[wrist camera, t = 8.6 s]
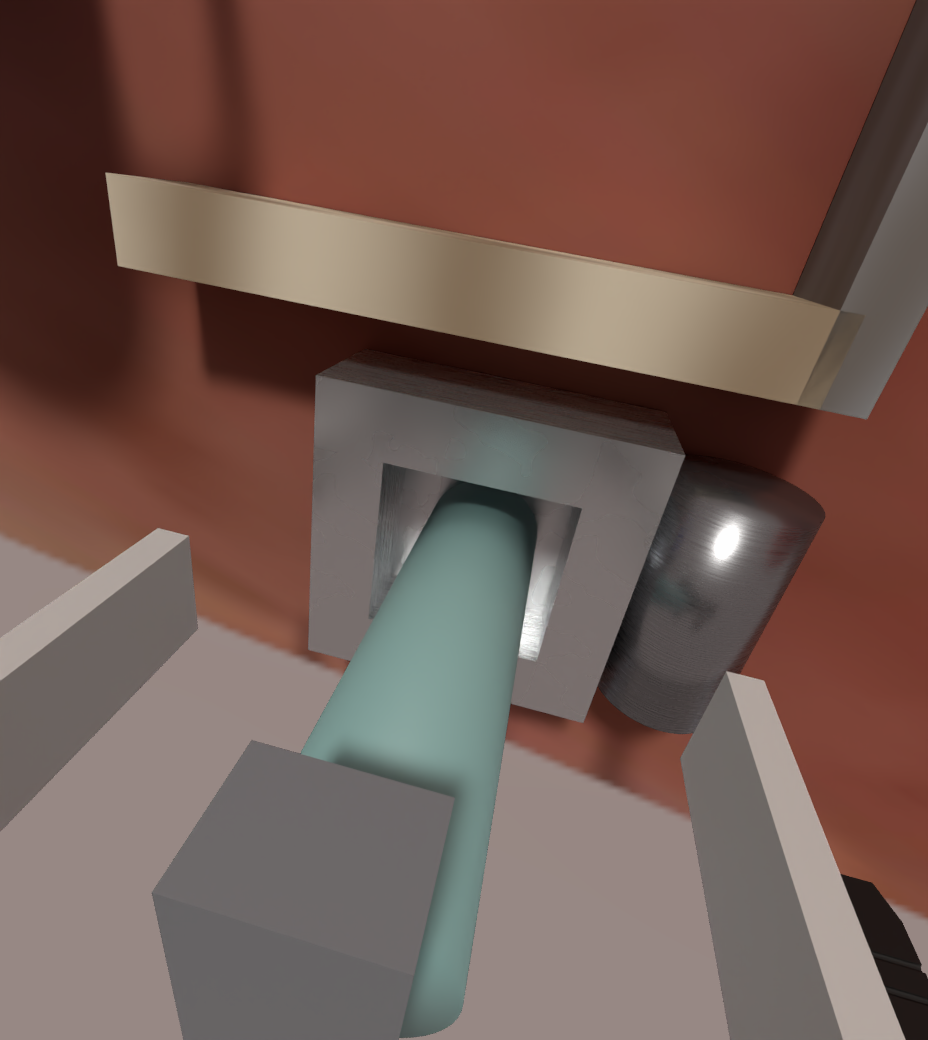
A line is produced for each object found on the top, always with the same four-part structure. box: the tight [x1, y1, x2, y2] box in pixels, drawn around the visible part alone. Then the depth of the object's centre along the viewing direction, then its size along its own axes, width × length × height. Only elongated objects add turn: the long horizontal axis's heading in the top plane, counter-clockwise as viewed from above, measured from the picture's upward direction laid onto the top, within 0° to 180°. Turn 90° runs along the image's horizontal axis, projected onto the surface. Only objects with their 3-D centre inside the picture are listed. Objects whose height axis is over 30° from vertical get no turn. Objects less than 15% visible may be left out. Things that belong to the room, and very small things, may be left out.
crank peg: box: [152, 482, 537, 1040], centre depth 12 cm, size 3×8×13 cm, turn 170°
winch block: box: [308, 349, 825, 734], centre depth 16 cm, size 13×9×4 cm
